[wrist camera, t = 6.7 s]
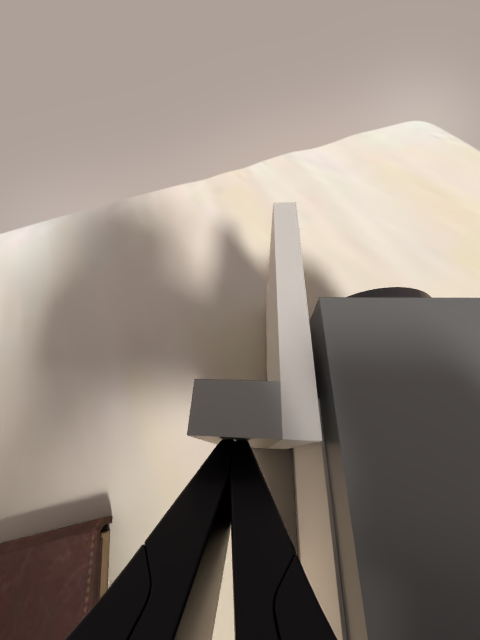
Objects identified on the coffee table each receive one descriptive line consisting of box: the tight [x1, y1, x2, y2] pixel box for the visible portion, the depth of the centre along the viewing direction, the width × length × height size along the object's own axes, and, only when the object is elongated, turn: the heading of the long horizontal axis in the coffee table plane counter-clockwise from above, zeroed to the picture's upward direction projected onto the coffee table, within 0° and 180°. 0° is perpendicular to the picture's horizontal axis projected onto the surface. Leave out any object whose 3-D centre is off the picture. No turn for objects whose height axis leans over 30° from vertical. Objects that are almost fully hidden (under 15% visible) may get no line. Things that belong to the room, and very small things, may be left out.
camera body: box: [292, 287, 480, 640], centre depth 9 cm, size 11×7×10 cm, turn 178°
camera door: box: [187, 202, 322, 449], centre depth 12 cm, size 10×4×8 cm, turn 178°
